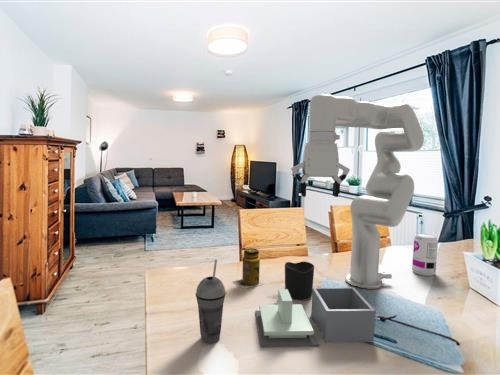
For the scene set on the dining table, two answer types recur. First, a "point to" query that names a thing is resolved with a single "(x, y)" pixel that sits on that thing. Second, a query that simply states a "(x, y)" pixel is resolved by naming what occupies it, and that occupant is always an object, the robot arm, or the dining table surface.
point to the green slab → (285, 318)
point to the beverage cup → (210, 307)
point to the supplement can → (425, 254)
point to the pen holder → (299, 279)
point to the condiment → (250, 269)
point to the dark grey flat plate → (283, 342)
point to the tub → (342, 314)
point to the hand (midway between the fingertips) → (319, 196)
